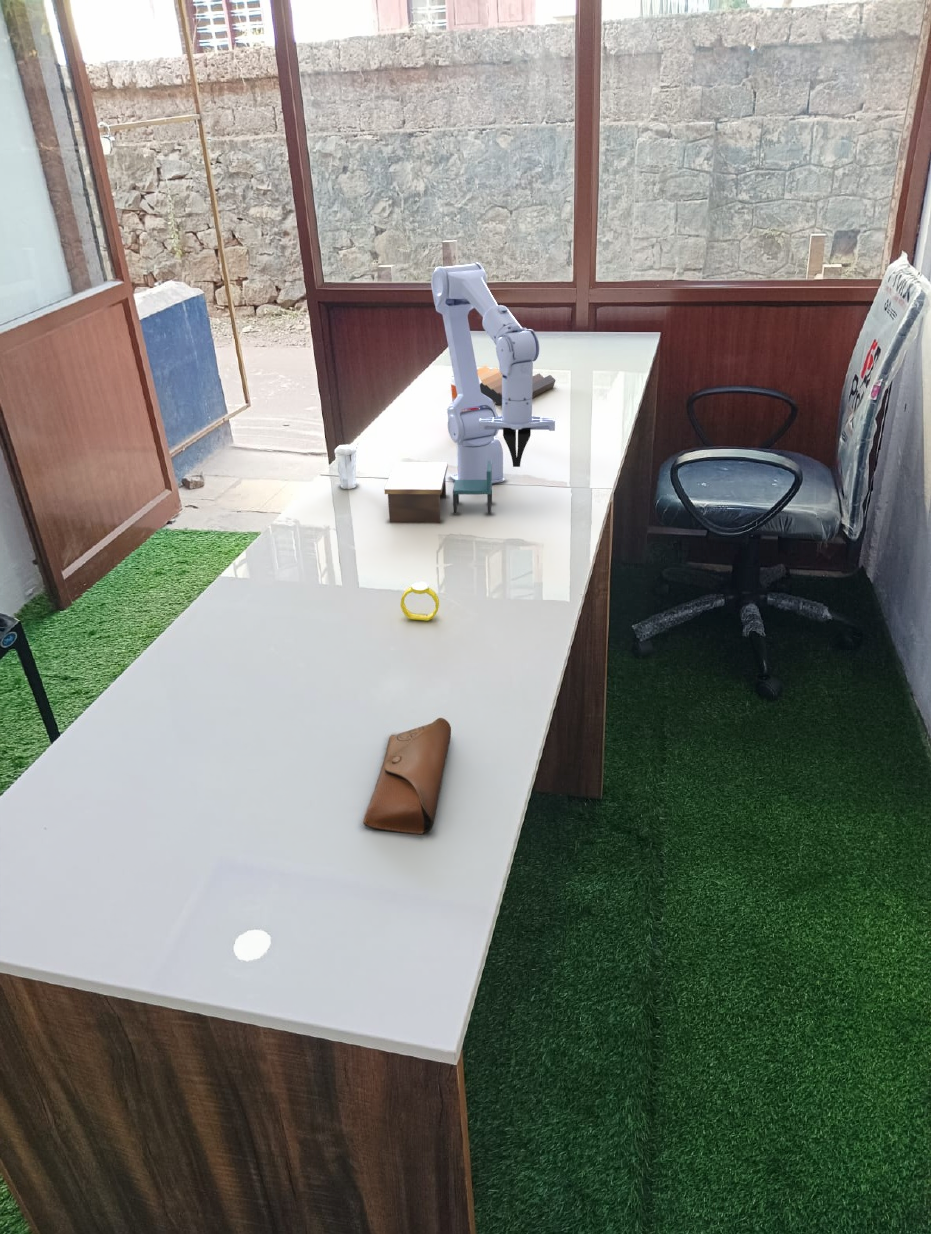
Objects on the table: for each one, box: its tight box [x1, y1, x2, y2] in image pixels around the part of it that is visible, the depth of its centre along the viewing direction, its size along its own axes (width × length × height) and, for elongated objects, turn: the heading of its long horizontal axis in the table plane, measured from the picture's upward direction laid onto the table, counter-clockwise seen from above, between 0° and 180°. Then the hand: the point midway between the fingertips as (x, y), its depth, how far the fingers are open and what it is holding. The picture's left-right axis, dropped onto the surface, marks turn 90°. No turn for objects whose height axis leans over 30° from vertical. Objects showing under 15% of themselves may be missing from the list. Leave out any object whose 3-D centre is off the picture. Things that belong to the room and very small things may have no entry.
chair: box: [452, 461, 493, 515], centre depth 183 cm, size 8×6×9 cm
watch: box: [400, 581, 440, 622], centre depth 145 cm, size 6×3×6 cm, turn 84°
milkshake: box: [334, 442, 360, 490], centre depth 195 cm, size 4×5×10 cm
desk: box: [384, 461, 449, 524], centre depth 184 cm, size 11×15×7 cm
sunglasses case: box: [362, 717, 452, 835], centre depth 111 cm, size 18×7×7 cm
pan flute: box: [477, 365, 556, 407], centre depth 257 cm, size 25×3×25 cm
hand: (516, 465), depth 180 cm, fingers closed
